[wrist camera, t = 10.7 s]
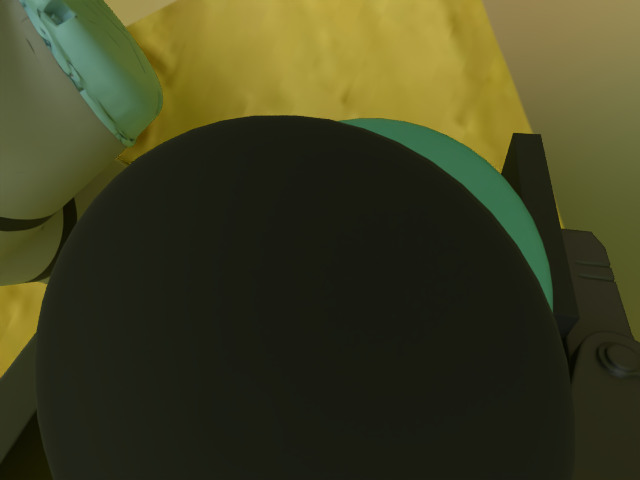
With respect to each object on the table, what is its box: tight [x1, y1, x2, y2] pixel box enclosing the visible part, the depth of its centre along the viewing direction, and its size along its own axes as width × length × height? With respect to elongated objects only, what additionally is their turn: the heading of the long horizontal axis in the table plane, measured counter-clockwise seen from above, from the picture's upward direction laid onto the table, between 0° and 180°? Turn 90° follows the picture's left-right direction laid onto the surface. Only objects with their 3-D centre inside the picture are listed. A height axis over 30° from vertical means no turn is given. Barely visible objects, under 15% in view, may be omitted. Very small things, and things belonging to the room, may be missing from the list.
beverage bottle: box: [34, 115, 575, 480], centre depth 12 cm, size 6×7×20 cm
